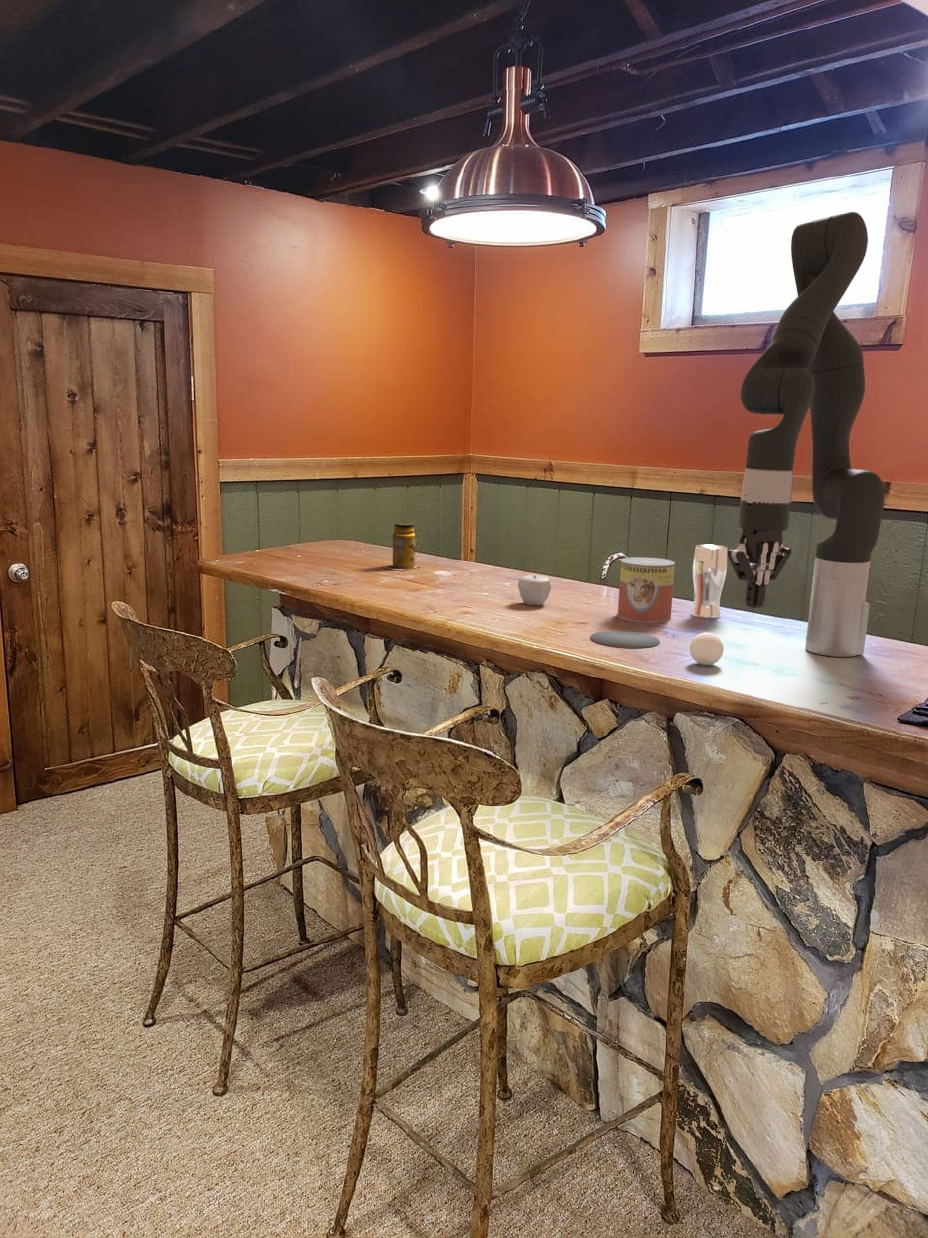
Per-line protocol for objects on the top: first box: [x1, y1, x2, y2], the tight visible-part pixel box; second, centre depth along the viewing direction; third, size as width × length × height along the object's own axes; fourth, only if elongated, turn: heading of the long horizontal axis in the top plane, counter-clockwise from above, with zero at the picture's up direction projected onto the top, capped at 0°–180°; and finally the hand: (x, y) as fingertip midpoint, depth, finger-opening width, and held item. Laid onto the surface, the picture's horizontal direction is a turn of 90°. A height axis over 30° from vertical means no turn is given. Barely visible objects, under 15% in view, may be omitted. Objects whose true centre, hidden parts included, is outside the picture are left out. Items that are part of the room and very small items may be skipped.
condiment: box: [380, 522, 416, 571], centre depth 247 cm, size 7×8×12 cm
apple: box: [517, 574, 552, 606], centre depth 204 cm, size 8×8×7 cm
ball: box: [689, 632, 725, 666], centre depth 157 cm, size 6×6×6 cm
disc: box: [589, 630, 661, 649], centre depth 173 cm, size 13×13×1 cm
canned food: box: [616, 556, 676, 623], centre depth 193 cm, size 11×11×12 cm
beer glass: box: [690, 543, 728, 620], centre depth 195 cm, size 7×7×15 cm
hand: (754, 606), depth 147 cm, fingers closed
